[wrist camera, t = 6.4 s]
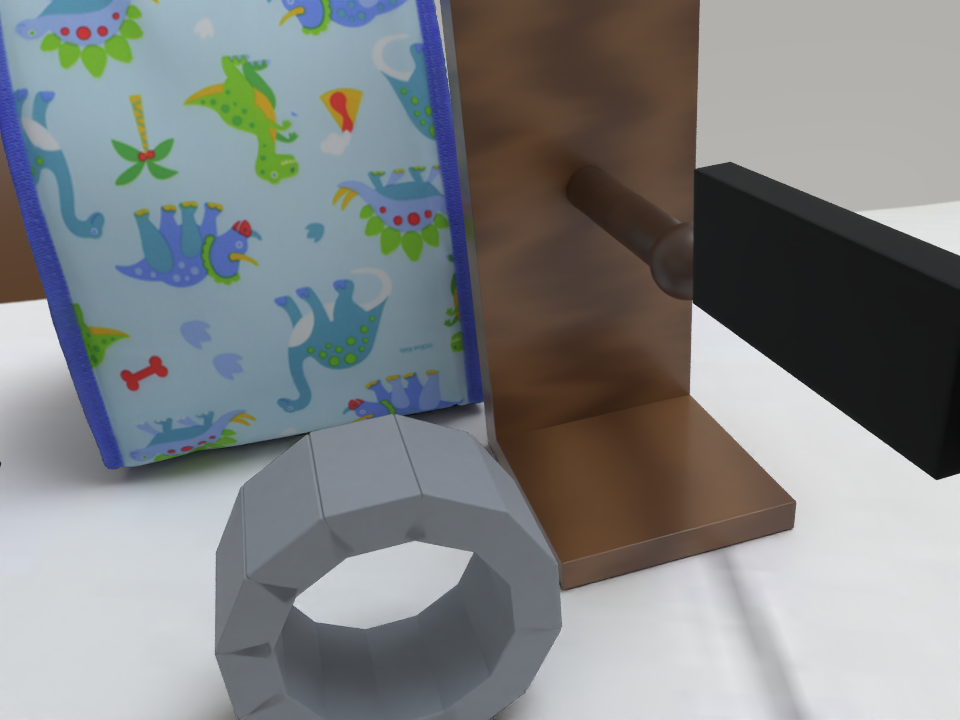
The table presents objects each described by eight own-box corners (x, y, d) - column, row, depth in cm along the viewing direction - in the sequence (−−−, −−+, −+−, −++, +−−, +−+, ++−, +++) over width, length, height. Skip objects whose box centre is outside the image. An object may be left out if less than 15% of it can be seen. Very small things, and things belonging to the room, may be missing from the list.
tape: (264, 799, 29) (179, 552, 24) (258, 690, 33) (185, 458, 28) (568, 708, 31) (551, 461, 26) (527, 616, 35) (506, 388, 30)
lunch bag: (443, 303, 63) (393, -94, 51) (505, 415, 49) (456, -99, 36) (134, 363, 59) (-3, -50, 47) (102, 504, 45) (-107, -37, 33)
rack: (575, 613, 35) (539, -20, 24) (488, 443, 47) (435, -39, 35) (812, 547, 37) (885, -65, 26) (673, 400, 49) (679, -69, 37)
